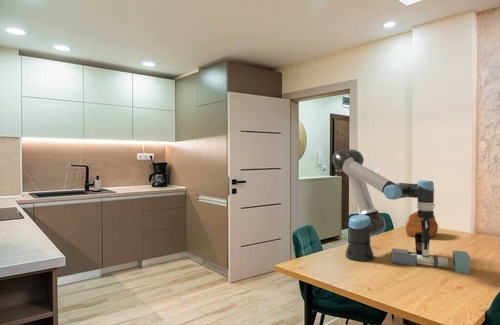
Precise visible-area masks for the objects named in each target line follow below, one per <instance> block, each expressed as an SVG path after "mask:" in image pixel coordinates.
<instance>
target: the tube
mask: <svg viewBox="0 0 500 325" xmlns="http://www.w3.org/2000/svg"><path fill="white" fill-rule="evenodd" d="M422 242H423V238H422ZM411 255H415V254H411ZM448 259H449V258H448V257H440V256H438V255H437V254H434V255H432V256H431V255H429V256H424V255H423V243H422V255H417V264H418V263H419V264H427V265H433V267H438V266H445V267H448V266H449V261H448Z"/></svg>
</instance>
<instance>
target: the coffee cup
mask: <svg viewBox="0 0 500 325" xmlns="http://www.w3.org/2000/svg"><path fill="white" fill-rule="evenodd" d="M431 238H432V237H431V236H430V235H429V242H430V240H431ZM414 242H415V252H416V255H422V243H421V242H422V232H418V233H416V234H415V237H414Z"/></svg>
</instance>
